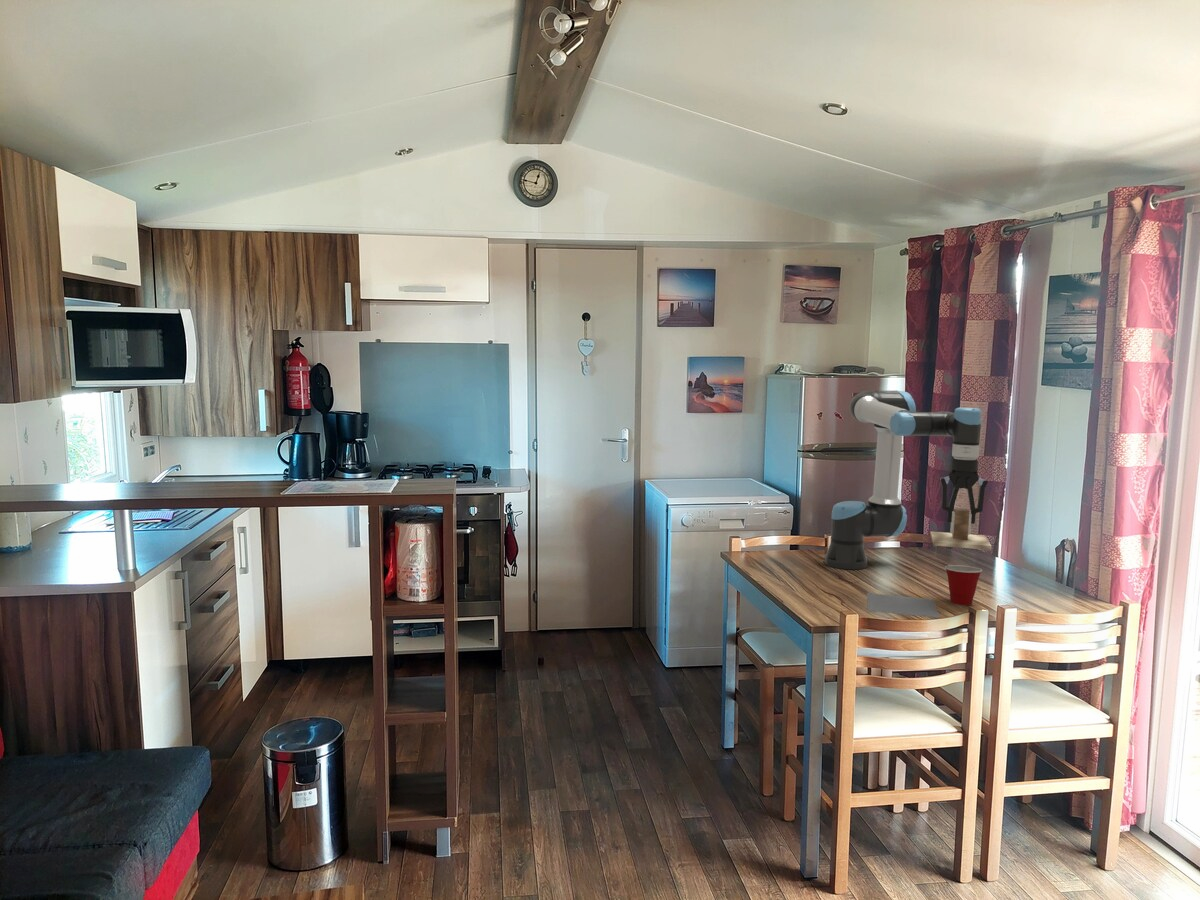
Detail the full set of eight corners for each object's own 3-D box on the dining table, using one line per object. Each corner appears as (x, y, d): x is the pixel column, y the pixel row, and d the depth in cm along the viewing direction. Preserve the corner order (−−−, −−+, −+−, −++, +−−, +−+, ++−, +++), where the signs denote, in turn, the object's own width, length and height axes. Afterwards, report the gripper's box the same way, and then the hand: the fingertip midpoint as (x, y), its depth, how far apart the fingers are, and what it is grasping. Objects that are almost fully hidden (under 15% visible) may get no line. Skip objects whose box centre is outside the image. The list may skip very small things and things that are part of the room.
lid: (933, 545, 251) (935, 512, 250) (930, 535, 266) (932, 503, 265) (991, 549, 246) (993, 516, 245) (984, 539, 261) (986, 507, 260)
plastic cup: (972, 600, 264) (975, 563, 263) (985, 610, 253) (987, 571, 252) (937, 598, 265) (939, 561, 264) (948, 608, 254) (950, 570, 253)
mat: (867, 613, 248) (867, 610, 248) (866, 595, 267) (867, 593, 267) (939, 620, 242) (939, 617, 242) (933, 601, 261) (933, 599, 261)
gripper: (935, 458, 253) (931, 533, 255) (997, 461, 247) (992, 538, 250) (934, 455, 260) (929, 528, 262) (993, 458, 254) (988, 533, 257)
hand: (960, 533), depth 256 cm, fingers closed on lid, 4 cm apart
